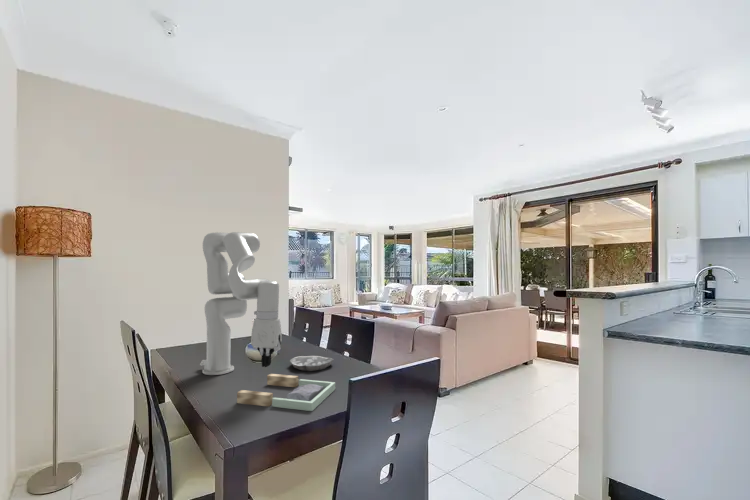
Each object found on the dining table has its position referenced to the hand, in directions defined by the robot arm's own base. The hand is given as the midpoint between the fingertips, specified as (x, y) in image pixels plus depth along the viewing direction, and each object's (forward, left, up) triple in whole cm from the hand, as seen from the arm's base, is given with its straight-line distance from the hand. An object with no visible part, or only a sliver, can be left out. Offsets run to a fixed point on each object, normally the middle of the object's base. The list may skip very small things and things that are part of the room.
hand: (266, 365), depth 130 cm
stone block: (+16, -1, -10) cm, 19 cm away
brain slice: (+2, +34, -10) cm, 35 cm away
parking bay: (+16, 0, -10) cm, 19 cm away
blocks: (+2, 0, -10) cm, 10 cm away
